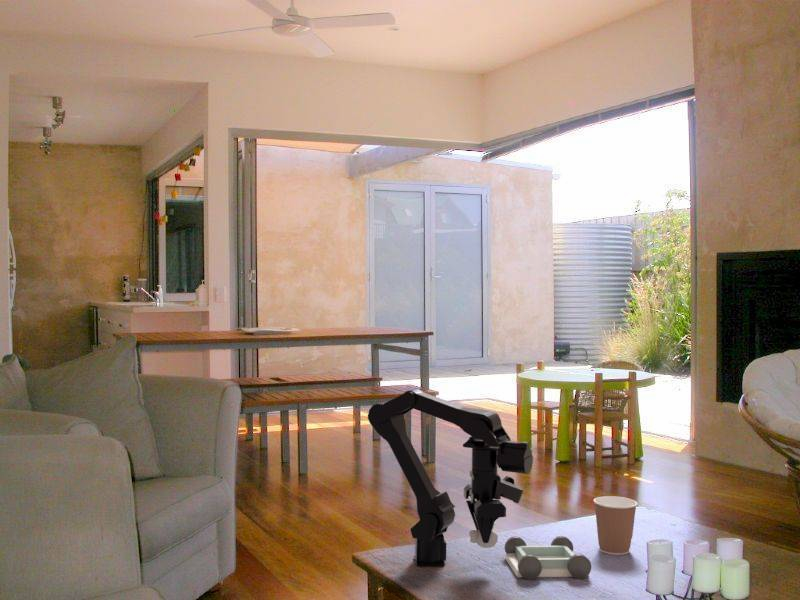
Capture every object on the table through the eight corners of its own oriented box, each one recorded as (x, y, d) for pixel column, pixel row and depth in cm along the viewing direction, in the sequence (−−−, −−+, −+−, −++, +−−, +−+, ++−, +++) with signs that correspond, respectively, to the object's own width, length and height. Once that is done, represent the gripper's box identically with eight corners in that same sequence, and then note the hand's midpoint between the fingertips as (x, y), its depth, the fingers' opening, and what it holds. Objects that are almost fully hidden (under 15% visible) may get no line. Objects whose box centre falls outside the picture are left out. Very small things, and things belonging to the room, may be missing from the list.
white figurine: (501, 550, 187) (502, 513, 187) (473, 552, 186) (474, 515, 186) (492, 542, 193) (493, 507, 193) (464, 544, 191) (465, 509, 191)
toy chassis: (518, 579, 184) (519, 556, 184) (504, 557, 199) (504, 536, 199) (591, 578, 186) (591, 555, 186) (571, 556, 201) (571, 535, 201)
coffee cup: (645, 554, 203) (646, 504, 203) (609, 559, 200) (610, 508, 199) (619, 542, 213) (620, 494, 213) (584, 546, 209) (585, 497, 209)
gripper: (530, 478, 180) (529, 551, 181) (511, 460, 199) (509, 526, 199) (478, 478, 179) (477, 552, 180) (463, 460, 198) (462, 527, 198)
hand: (483, 538), depth 189 cm, fingers closed on white figurine, 5 cm apart
